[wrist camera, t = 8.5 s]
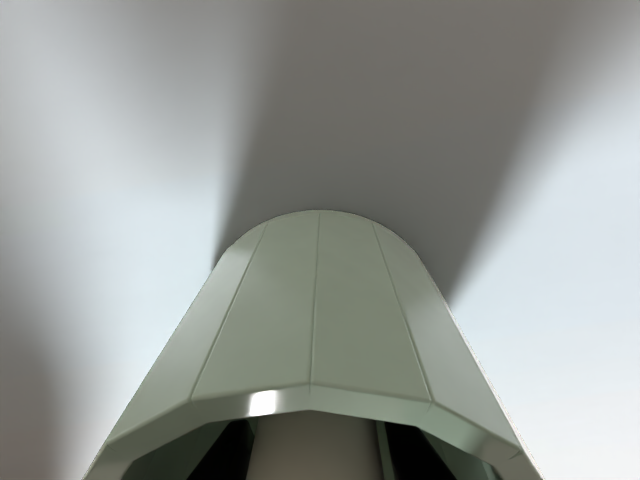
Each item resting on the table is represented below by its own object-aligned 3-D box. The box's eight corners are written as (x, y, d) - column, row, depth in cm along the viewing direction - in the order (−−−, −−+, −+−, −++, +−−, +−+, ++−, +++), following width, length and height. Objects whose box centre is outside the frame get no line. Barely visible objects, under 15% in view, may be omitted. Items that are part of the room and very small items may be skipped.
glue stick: (369, 353, 12) (433, 743, 5) (287, 365, 13) (232, 750, 5) (356, 280, 11) (414, 648, 4) (265, 295, 11) (157, 665, 4)
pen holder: (442, 385, 14) (547, 654, 7) (243, 411, 14) (175, 677, 8) (425, 186, 10) (583, 343, 4) (173, 234, 11) (-35, 430, 5)
